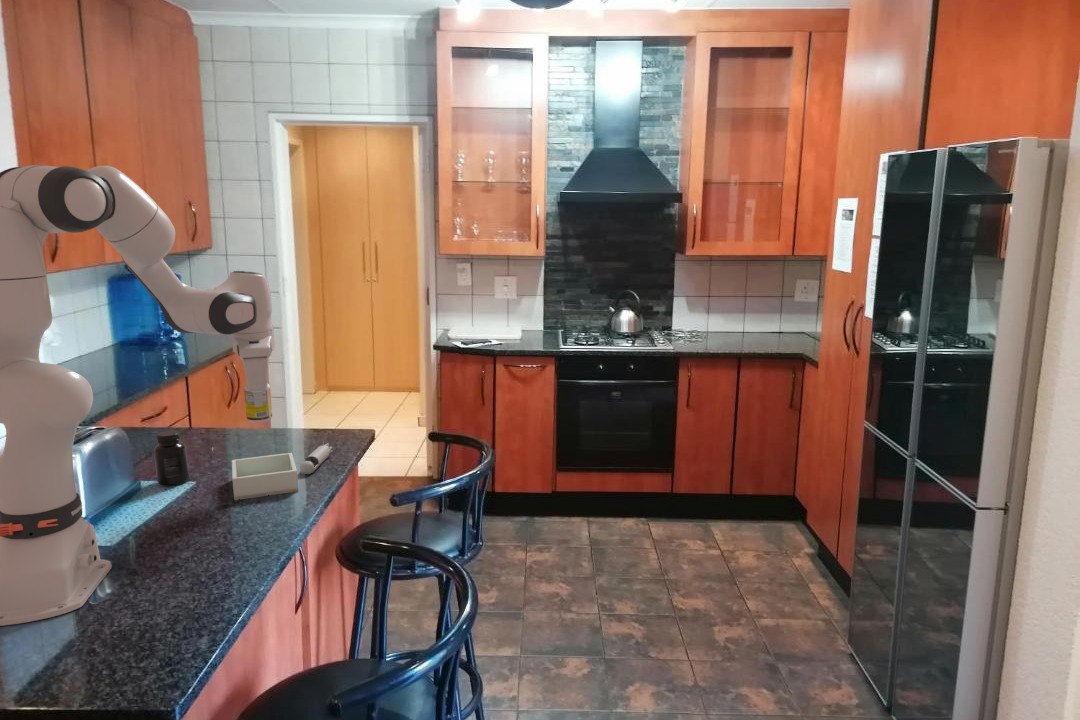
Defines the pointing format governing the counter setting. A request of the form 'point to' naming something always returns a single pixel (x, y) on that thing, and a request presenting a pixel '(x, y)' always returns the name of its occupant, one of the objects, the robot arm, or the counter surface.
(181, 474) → the supplement bottle
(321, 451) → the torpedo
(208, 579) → the counter surface
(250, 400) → the supplement bottle
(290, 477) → the bin
